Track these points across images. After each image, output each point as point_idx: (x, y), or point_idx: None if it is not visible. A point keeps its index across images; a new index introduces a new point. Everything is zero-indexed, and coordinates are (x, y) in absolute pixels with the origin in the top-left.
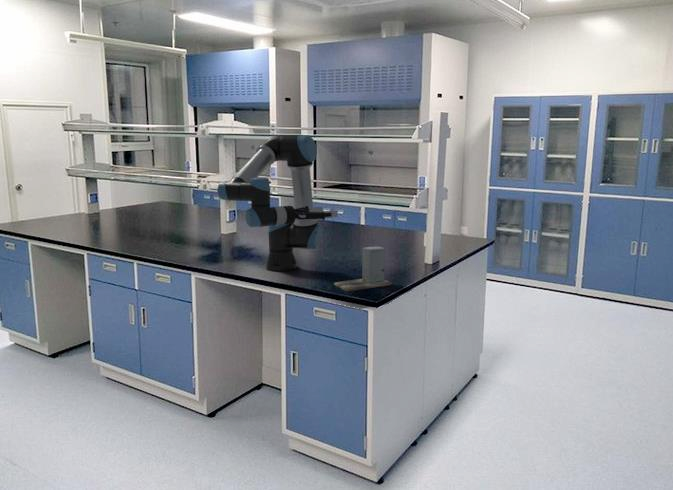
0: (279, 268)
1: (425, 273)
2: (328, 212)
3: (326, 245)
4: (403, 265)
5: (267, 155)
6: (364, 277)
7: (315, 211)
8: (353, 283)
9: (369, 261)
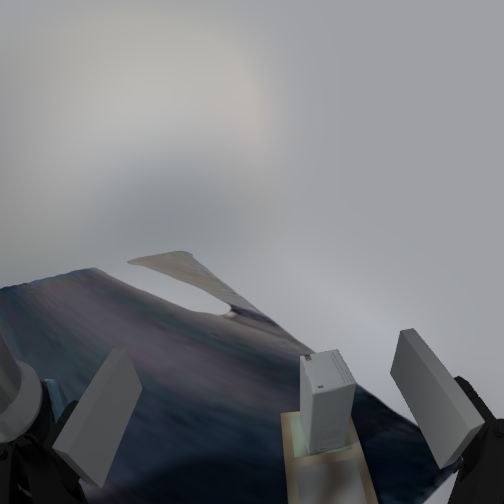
0: None
1: (287, 338)
2: (453, 393)
3: (17, 349)
4: (214, 342)
5: None
6: (321, 447)
7: (113, 427)
8: (328, 481)
9: (350, 410)
